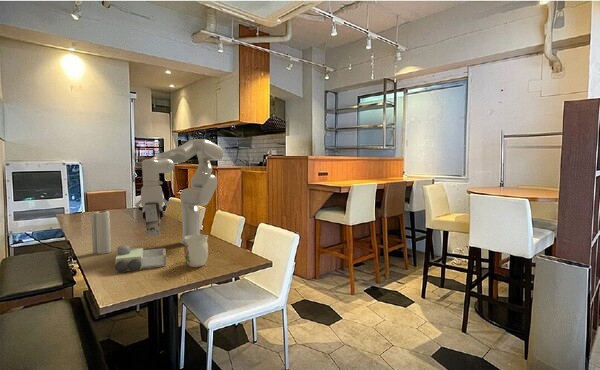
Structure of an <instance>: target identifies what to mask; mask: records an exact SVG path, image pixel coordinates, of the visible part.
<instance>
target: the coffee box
mask: <svg viewBox="0 0 600 370" xmlns="http://www.w3.org/2000/svg"><path fill="white" fill-rule="evenodd" d="M145 214H146V220H145V230H146V234H145V235H146V237H154V236H160V235H161V232H162V229H161V226H162V225H161V219H160V208H159V203H150V204H145Z"/></svg>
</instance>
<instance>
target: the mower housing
mask: <svg viewBox="0 0 600 370" xmlns="http://www.w3.org/2000/svg"><path fill="white" fill-rule="evenodd" d="M143 250H144V247H137V248H135V247H134V248H131V246H130V245H125V244H124V245H120V246H117V254H116V256H115V266H114V269H115V273H119V274H123V273H126V272H138V271H139V270H140V271H141V270H143V269H142V263H141V257H143Z"/></svg>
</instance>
